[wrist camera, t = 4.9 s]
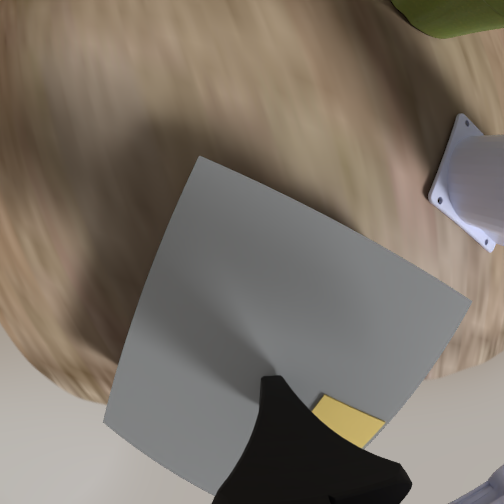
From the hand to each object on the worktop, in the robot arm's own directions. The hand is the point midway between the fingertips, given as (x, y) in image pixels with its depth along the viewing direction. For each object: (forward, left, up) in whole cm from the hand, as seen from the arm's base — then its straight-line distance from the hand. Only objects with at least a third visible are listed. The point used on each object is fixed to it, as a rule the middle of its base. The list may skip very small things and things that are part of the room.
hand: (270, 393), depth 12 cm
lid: (+1, +1, -1) cm, 2 cm away
